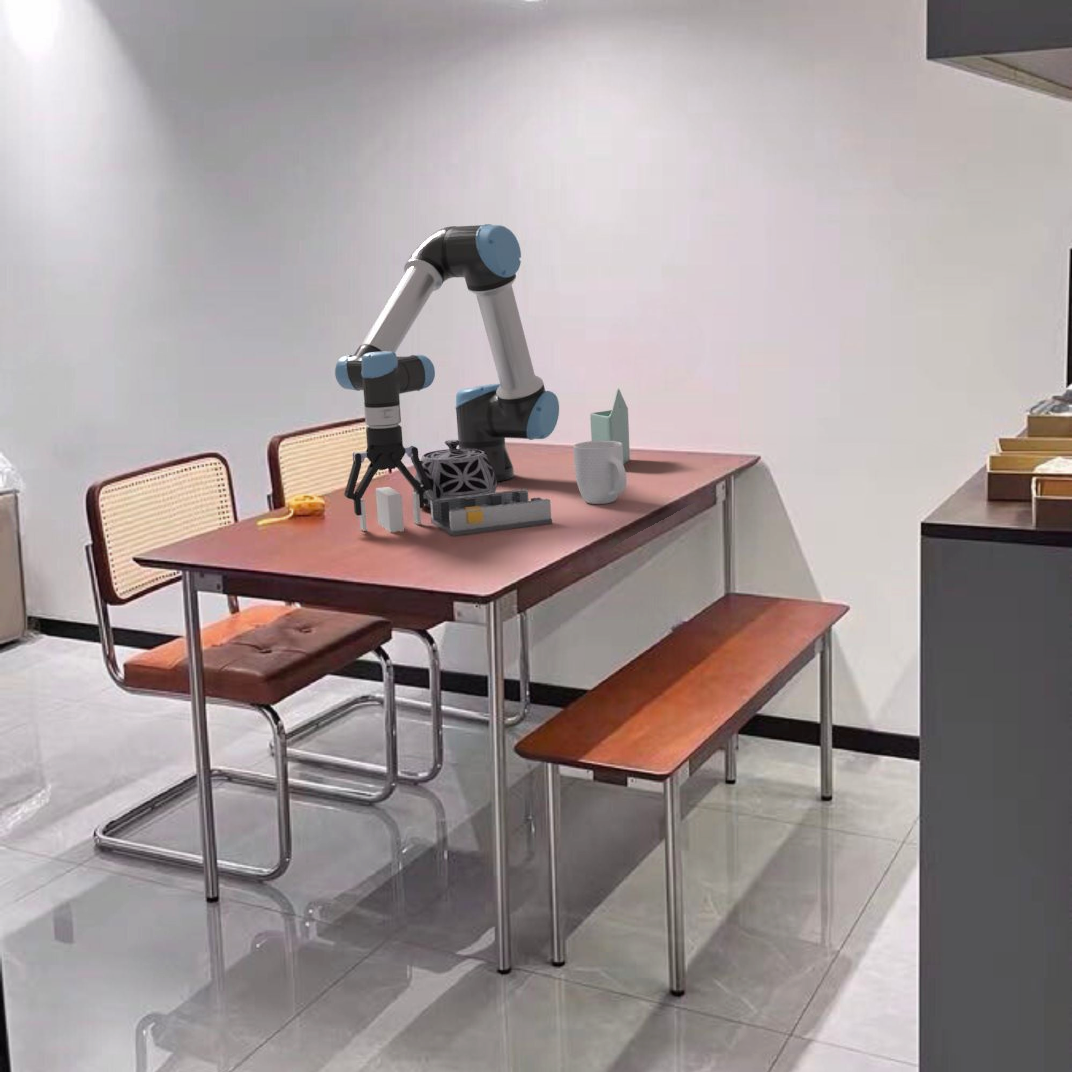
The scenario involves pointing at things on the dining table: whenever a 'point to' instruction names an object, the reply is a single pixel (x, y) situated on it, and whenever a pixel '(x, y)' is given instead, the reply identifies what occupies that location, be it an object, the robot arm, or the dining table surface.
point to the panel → (389, 509)
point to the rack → (489, 512)
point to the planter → (612, 425)
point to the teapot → (457, 473)
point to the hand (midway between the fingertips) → (390, 526)
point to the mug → (599, 470)
